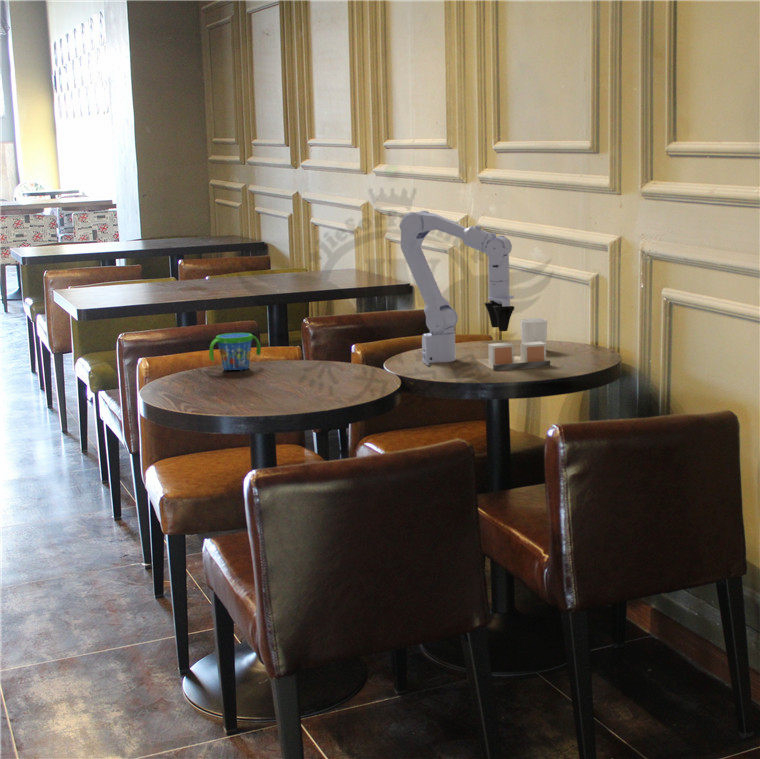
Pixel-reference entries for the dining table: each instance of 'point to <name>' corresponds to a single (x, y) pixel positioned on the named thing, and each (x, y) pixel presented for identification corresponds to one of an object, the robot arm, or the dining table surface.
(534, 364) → the shelf board
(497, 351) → the carton
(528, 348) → the faced carton
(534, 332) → the white cup
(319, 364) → the dining table surface
